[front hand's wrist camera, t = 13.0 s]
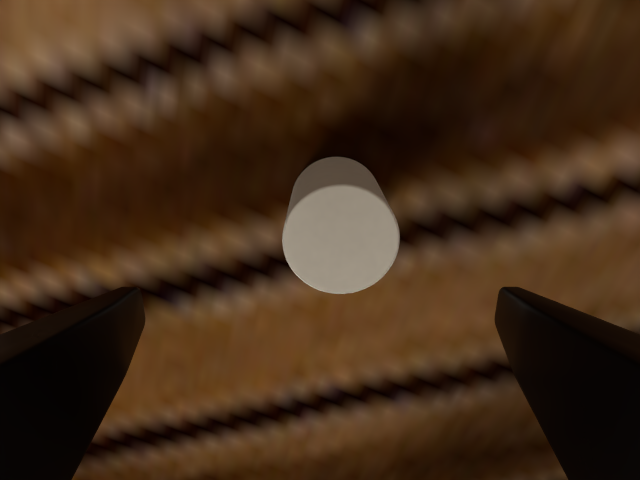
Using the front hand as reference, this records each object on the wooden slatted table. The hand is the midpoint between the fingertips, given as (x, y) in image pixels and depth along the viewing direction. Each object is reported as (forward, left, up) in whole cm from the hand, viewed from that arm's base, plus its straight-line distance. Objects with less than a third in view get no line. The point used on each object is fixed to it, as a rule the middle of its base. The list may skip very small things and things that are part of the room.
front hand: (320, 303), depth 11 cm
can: (-1, 0, -8) cm, 8 cm away
